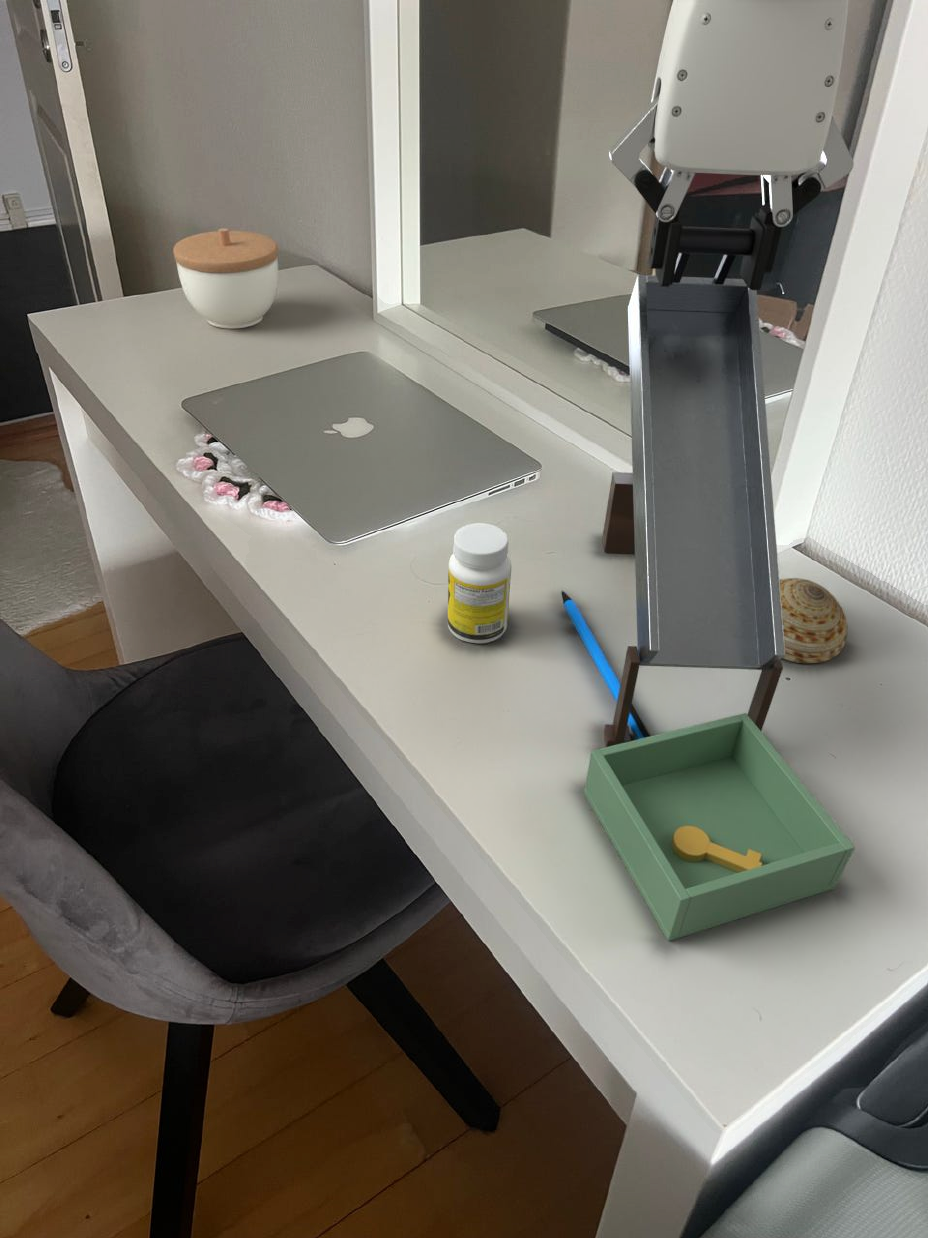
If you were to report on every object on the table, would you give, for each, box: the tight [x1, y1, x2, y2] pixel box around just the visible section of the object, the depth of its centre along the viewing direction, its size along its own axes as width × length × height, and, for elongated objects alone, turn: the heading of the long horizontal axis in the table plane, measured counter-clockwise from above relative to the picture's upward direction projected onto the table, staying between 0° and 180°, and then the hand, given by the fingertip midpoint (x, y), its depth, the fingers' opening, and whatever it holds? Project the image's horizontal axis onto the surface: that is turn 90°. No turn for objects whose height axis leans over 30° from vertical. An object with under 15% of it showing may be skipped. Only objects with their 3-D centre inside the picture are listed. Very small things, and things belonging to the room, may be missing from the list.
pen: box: [560, 590, 651, 740], centre depth 67 cm, size 1×19×1 cm, turn 15°
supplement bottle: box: [447, 522, 512, 645], centre depth 69 cm, size 5×5×8 cm
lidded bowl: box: [172, 227, 279, 330], centre depth 115 cm, size 13×13×11 cm
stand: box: [601, 471, 784, 748], centre depth 69 cm, size 25×11×8 cm, turn 179°
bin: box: [583, 712, 855, 942], centre depth 55 cm, size 11×11×4 cm
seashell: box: [779, 577, 848, 664], centre depth 72 cm, size 8×6×8 cm
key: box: [672, 826, 763, 873], centre depth 55 cm, size 5×2×1 cm, turn 63°
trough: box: [627, 226, 785, 671], centre depth 59 cm, size 28×8×8 cm
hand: (706, 278), depth 60 cm, fingers closed on trough, 5 cm apart
